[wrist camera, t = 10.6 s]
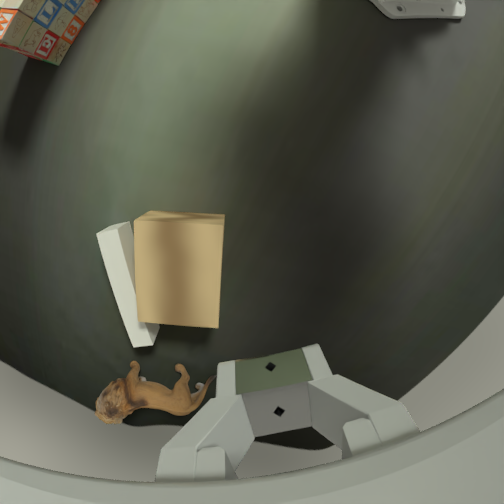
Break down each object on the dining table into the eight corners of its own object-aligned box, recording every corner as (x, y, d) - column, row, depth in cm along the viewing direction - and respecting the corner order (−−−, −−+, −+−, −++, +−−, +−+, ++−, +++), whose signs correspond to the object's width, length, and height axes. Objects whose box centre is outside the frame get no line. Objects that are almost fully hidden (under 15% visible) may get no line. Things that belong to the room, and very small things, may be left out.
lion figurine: (117, 389, 38) (99, 433, 29) (106, 358, 36) (83, 402, 28) (219, 387, 38) (218, 436, 30) (214, 355, 37) (211, 404, 28)
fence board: (129, 221, 32) (117, 228, 28) (159, 327, 35) (152, 345, 32) (110, 225, 32) (96, 233, 28) (141, 329, 35) (133, 347, 31)
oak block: (224, 214, 33) (223, 225, 27) (219, 302, 35) (218, 328, 29) (150, 210, 32) (134, 220, 26) (151, 297, 35) (137, 321, 29)
